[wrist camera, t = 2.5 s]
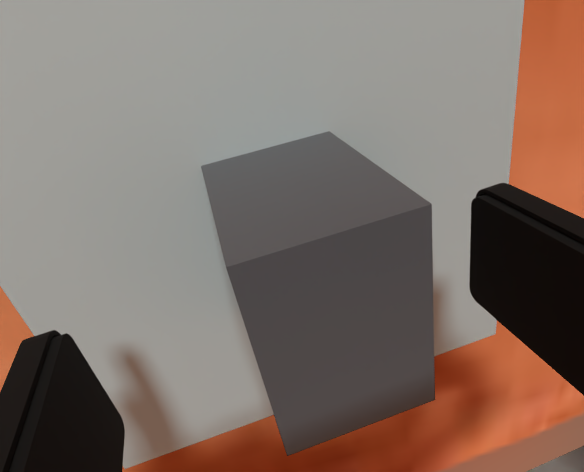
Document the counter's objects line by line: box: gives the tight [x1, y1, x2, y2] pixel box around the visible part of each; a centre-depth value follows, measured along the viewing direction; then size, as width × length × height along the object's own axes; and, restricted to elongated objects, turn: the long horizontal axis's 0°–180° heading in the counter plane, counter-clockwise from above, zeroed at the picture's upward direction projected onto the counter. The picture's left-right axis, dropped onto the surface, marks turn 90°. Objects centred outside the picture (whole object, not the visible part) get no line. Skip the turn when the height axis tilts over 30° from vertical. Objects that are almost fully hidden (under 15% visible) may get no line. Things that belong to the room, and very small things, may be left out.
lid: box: [0, 0, 524, 469], centre depth 10 cm, size 15×15×6 cm
